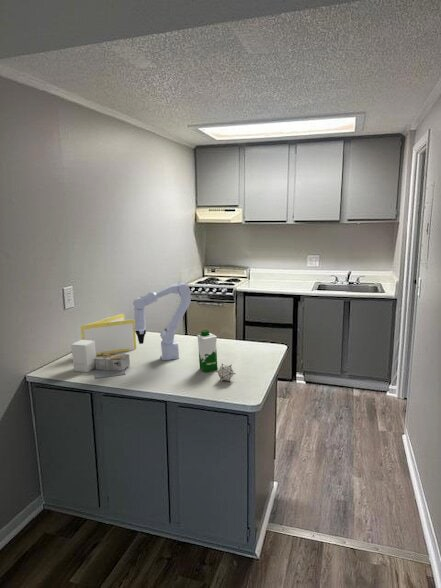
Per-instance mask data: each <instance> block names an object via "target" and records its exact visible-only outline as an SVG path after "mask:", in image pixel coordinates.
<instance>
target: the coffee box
mask: <svg viewBox="0 0 441 588" xmlns="http://www.w3.org/2000/svg"><path fill="white" fill-rule="evenodd" d="M94 361H95V362H94V363H95V368H94V370H113V371H123V370H124V369H125V370H126V369H127V368H128V367H129V366H130V365H131V363H130V361H131V360H130V354H129V353H128V354H127V353H109V354H107V353H102V354H100V355H97V356H96V358H95V359H94Z"/></svg>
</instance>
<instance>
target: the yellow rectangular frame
mask: <svg viewBox="0 0 441 588" xmlns="http://www.w3.org/2000/svg"><path fill="white" fill-rule="evenodd" d="M133 327H135V319H134V318H133V319H132V318H131V319H126V317H125V313H120V314H115V315H113V316H110V317H106V318H103V319H100V320H97V321H93V322H90V323H87V324H84V325H83V324H82V325H81V326H80V331H81V332H80V335H81V340H91V341H95V350H96V356H99V355H100V354H102V353H107V354H117V353H122V352H128V351H134V350H136V349H137V340H136V336H137V335H136V332H135V331H136V330H135V329H133Z"/></svg>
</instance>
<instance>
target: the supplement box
mask: <svg viewBox="0 0 441 588" xmlns="http://www.w3.org/2000/svg"><path fill="white" fill-rule="evenodd" d="M70 347H71V356H72V362H73V363H72V364H73V372H80V373H81V372H82V373H88V372H91V371H92V370H95V363H94V362H95V361H94V359H95V358H96V357H97V355H96V350H95V341H91V340H82V339H80V340H77V341H75V342H73V343H72V344H70Z"/></svg>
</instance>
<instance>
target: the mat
mask: <svg viewBox="0 0 441 588" xmlns="http://www.w3.org/2000/svg"><path fill="white" fill-rule="evenodd" d="M94 370H95V369H94ZM94 373H95V374H94V375H95V376H94V379H96V380H97V379H103V378H109V377H110V378H111V377H118V376H125V375H126V368H125V369H124V370H123V371H113V370H95V371H94Z"/></svg>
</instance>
